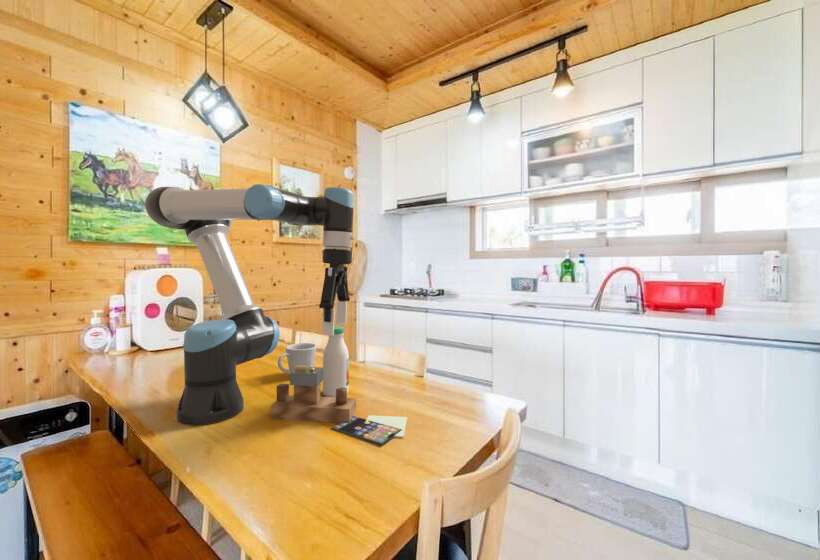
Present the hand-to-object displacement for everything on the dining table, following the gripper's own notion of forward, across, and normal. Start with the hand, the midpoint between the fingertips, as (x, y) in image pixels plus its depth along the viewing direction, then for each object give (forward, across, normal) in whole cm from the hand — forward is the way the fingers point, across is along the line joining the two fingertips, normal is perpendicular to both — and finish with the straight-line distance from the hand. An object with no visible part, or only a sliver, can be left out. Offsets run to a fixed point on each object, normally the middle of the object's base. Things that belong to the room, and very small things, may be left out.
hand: (335, 329), depth 94 cm
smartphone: (+22, -11, -11) cm, 27 cm away
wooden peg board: (+22, -4, +4) cm, 23 cm away
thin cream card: (+21, -9, -15) cm, 28 cm away
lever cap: (+13, -4, +6) cm, 15 cm away
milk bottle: (+22, +12, +2) cm, 25 cm away
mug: (+23, +26, +20) cm, 40 cm away
